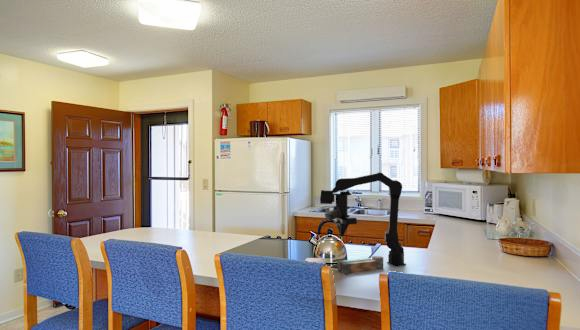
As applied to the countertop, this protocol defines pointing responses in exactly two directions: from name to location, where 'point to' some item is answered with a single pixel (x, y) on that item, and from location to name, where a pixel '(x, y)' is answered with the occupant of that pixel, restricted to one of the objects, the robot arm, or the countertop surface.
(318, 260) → the charger
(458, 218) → the countertop surface
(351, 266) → the wooden block
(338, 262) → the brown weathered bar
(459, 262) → the countertop surface
